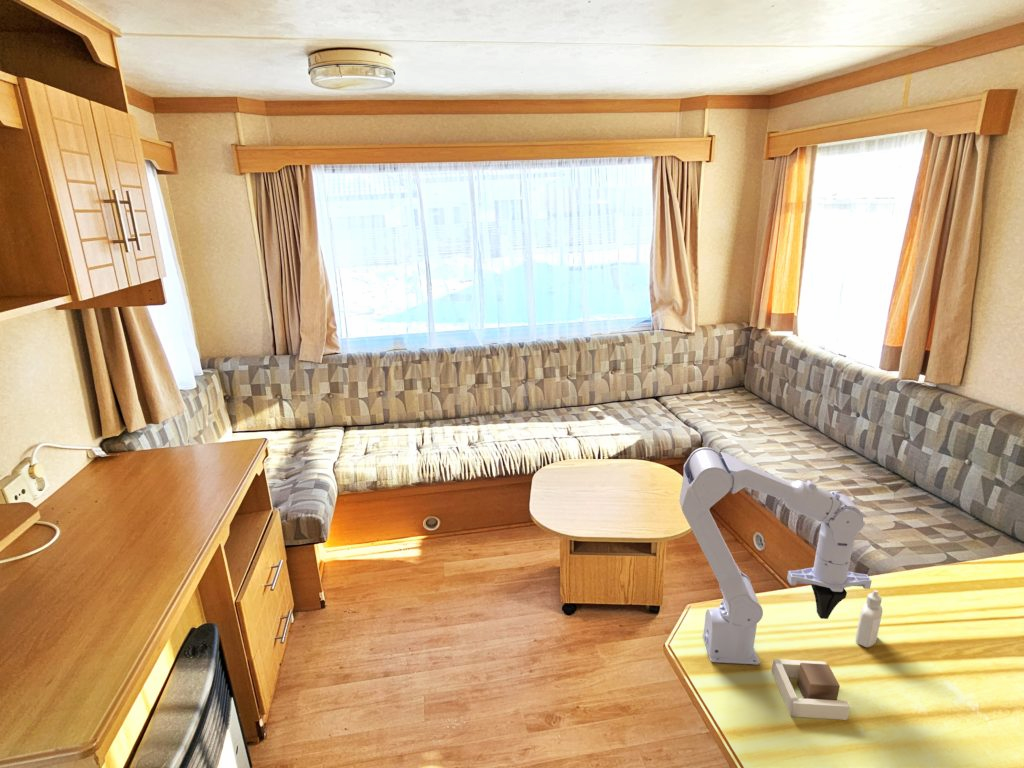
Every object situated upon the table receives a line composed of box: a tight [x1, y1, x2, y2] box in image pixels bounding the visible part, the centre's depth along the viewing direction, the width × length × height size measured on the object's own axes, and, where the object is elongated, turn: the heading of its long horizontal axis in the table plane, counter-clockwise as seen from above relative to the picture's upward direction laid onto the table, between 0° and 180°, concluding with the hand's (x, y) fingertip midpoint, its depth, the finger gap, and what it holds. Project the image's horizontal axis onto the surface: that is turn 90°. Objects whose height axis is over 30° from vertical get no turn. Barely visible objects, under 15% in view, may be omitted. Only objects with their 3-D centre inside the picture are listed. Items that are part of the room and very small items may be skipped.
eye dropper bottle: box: [855, 589, 883, 648], centre depth 120 cm, size 4×6×12 cm
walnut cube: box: [796, 663, 840, 700], centre depth 108 cm, size 5×5×5 cm
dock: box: [771, 658, 851, 721], centre depth 109 cm, size 10×10×3 cm
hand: (822, 615), depth 115 cm, fingers closed
